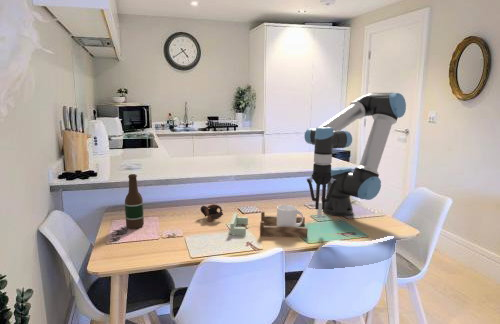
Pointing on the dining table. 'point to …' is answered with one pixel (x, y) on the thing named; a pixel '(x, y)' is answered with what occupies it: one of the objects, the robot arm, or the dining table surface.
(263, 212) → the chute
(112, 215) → the dining table surface
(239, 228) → the end stop
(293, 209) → the mug
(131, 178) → the beer bottle
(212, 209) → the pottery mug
